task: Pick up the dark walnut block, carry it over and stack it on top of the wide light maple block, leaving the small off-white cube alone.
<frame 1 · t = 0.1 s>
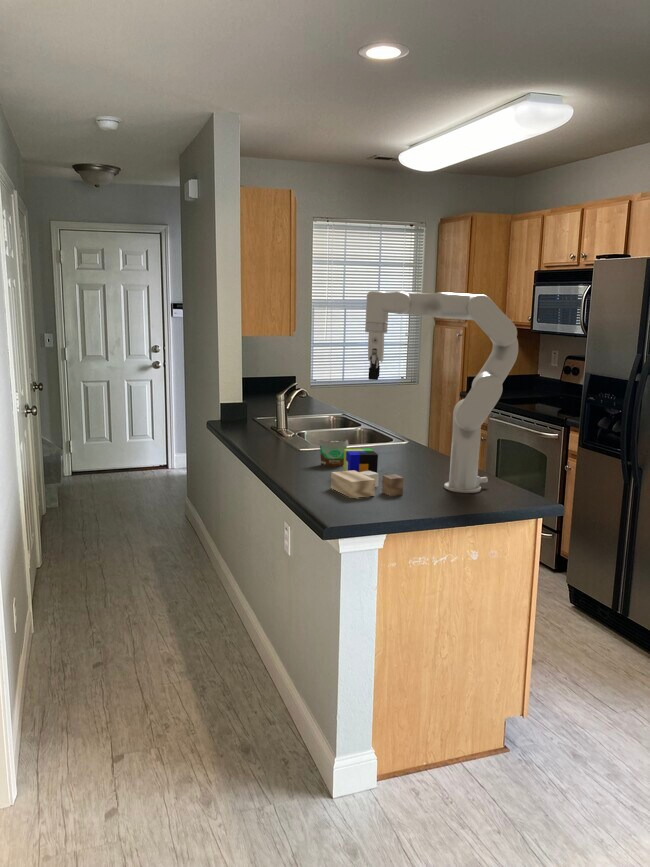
hand: (373, 378, 247), 37 cm above the counter, tool pointing down, fingers open, 9 cm apart
offwhite cube: (367, 486, 248), on the counter
food container: (335, 466, 278), on the counter
walnut block: (392, 493, 240), on the counter
maple block: (352, 493, 240), on the counter
puzzle toy: (359, 479, 259), on the counter
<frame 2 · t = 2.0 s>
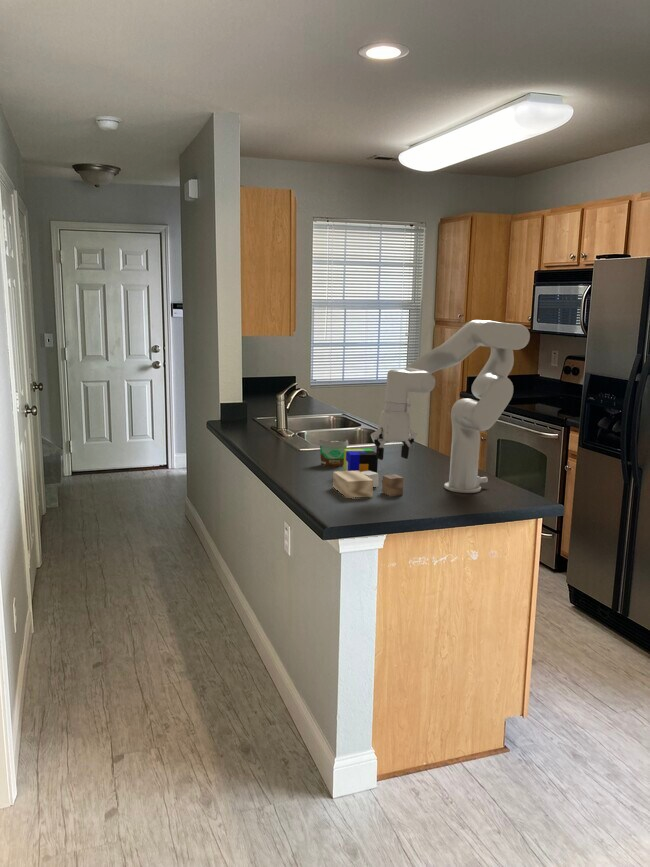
hand: (392, 458, 237), 12 cm above the counter, tool pointing down, fingers open, 9 cm apart
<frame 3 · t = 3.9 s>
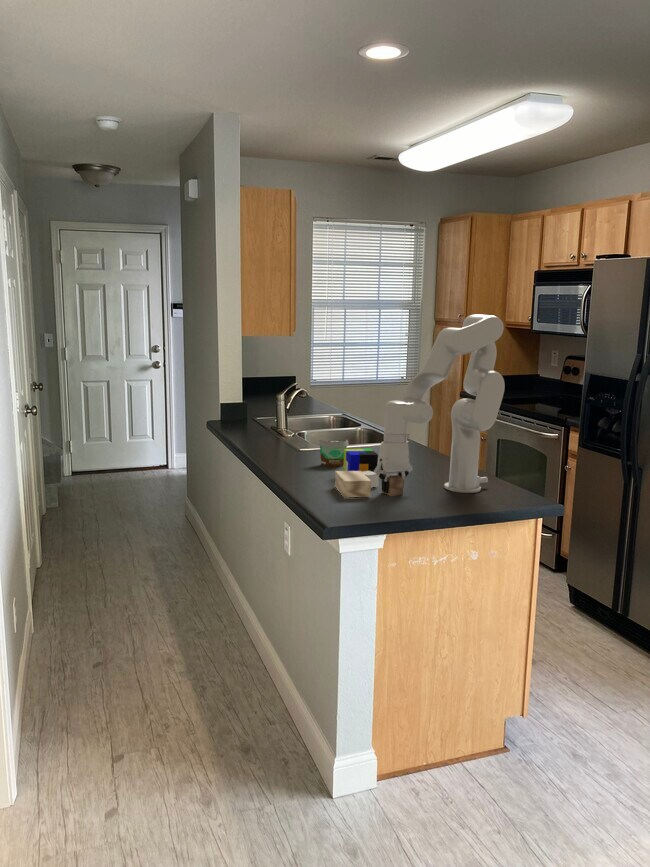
hand: (392, 490, 240), 1 cm above the counter, tool pointing down, fingers closed on walnut block, 5 cm apart
walnut block: (392, 493, 240), on the counter, touching gripper
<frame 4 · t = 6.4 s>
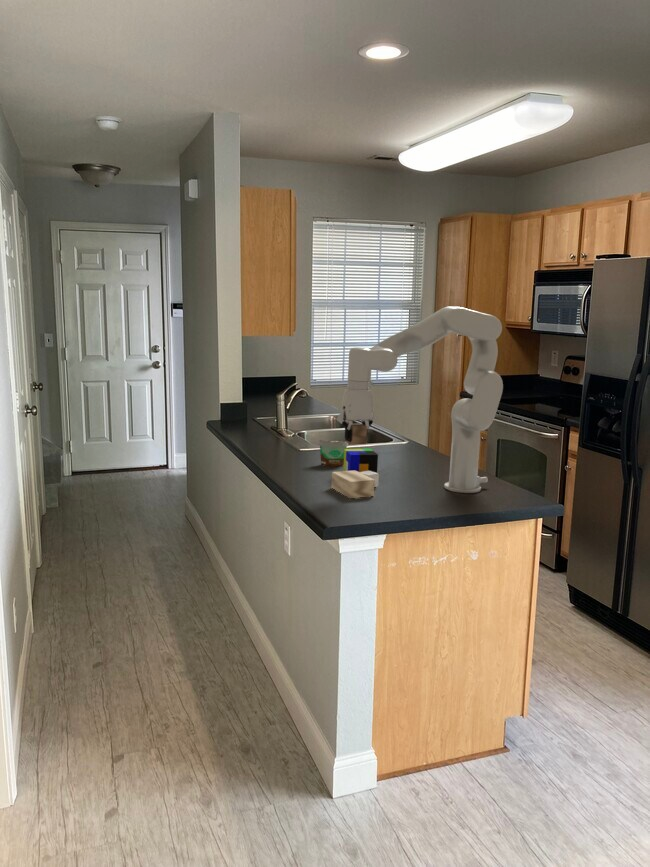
hand: (355, 439, 236), 18 cm above the counter, tool pointing down, fingers closed on walnut block, 5 cm apart
walnut block: (355, 442, 237), point 17 cm above the counter, touching gripper
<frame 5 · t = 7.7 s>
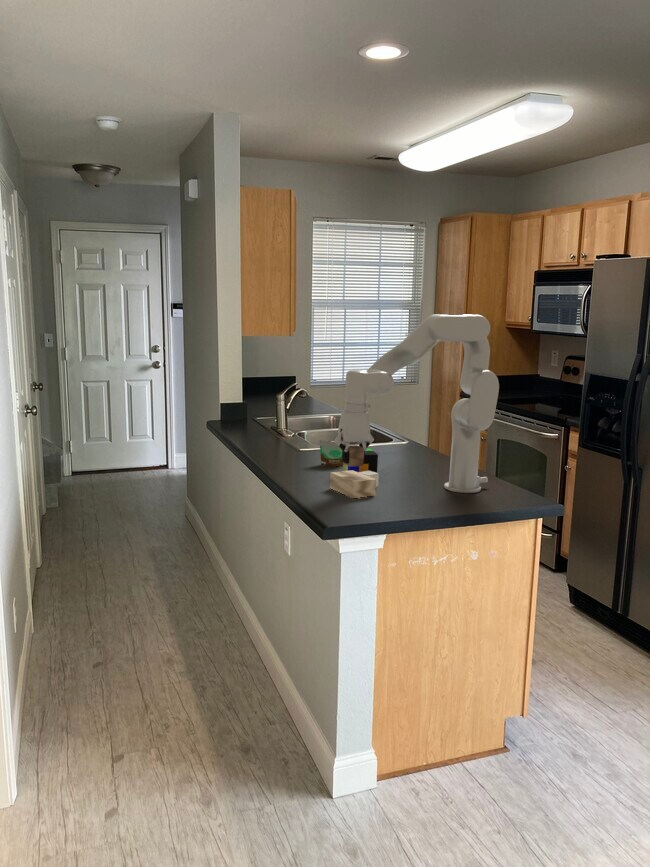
hand: (353, 461, 238), 11 cm above the counter, tool pointing down, fingers closed on walnut block, 5 cm apart
walnut block: (353, 464, 238), point 10 cm above the counter, touching gripper
when the fingers open (8 cm above the counter, at t = 8.9 s): walnut block drops 2 cm, point 6 cm above the counter.
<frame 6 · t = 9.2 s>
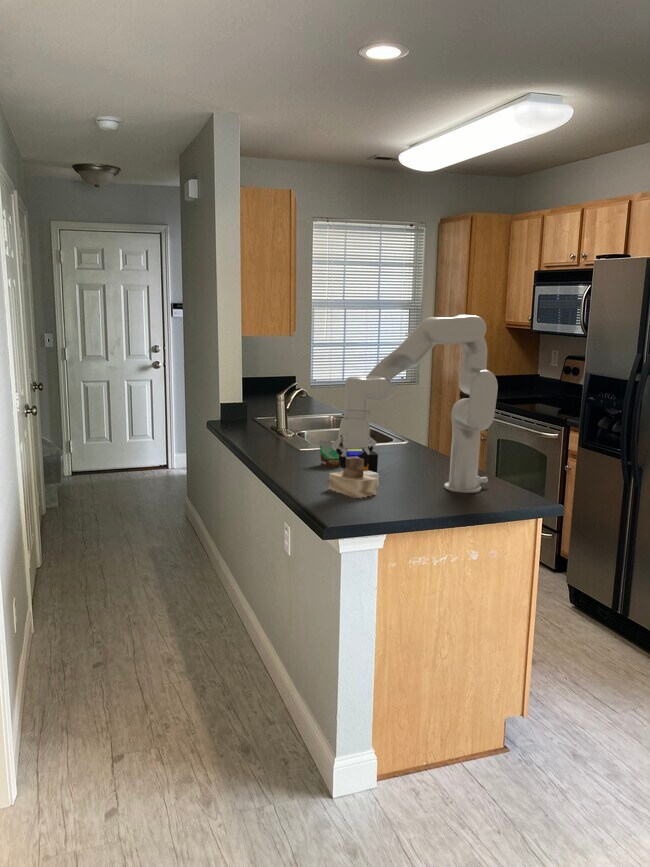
hand: (353, 466, 238), 9 cm above the counter, tool pointing down, fingers open, 7 cm apart
walnut block: (352, 475, 239), point 6 cm above the counter
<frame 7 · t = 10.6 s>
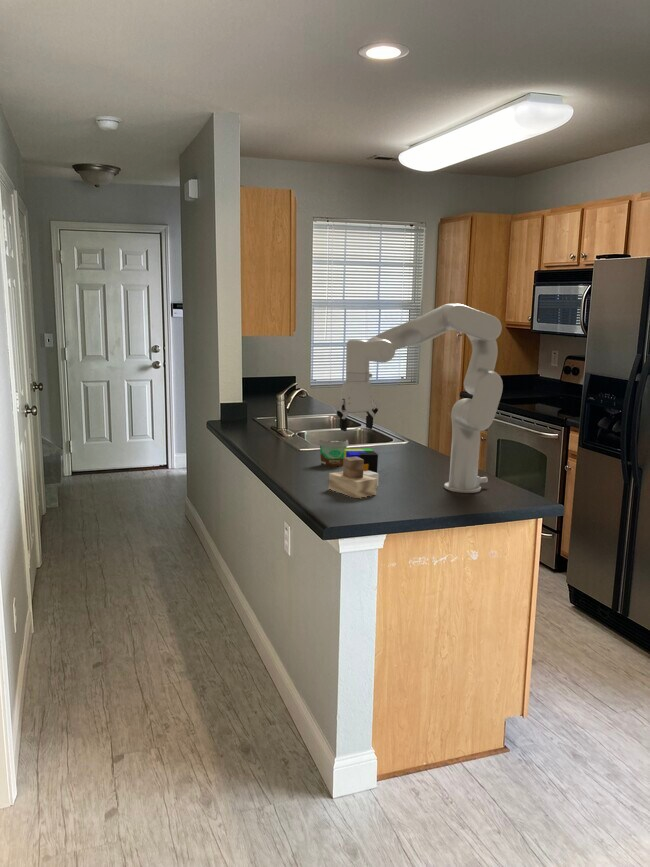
hand: (356, 429, 236), 21 cm above the counter, tool pointing down, fingers open, 9 cm apart
walnut block: (352, 476, 239), point 6 cm above the counter, touching maple block
maple block: (352, 493, 240), on the counter, touching walnut block
everything else where it was.
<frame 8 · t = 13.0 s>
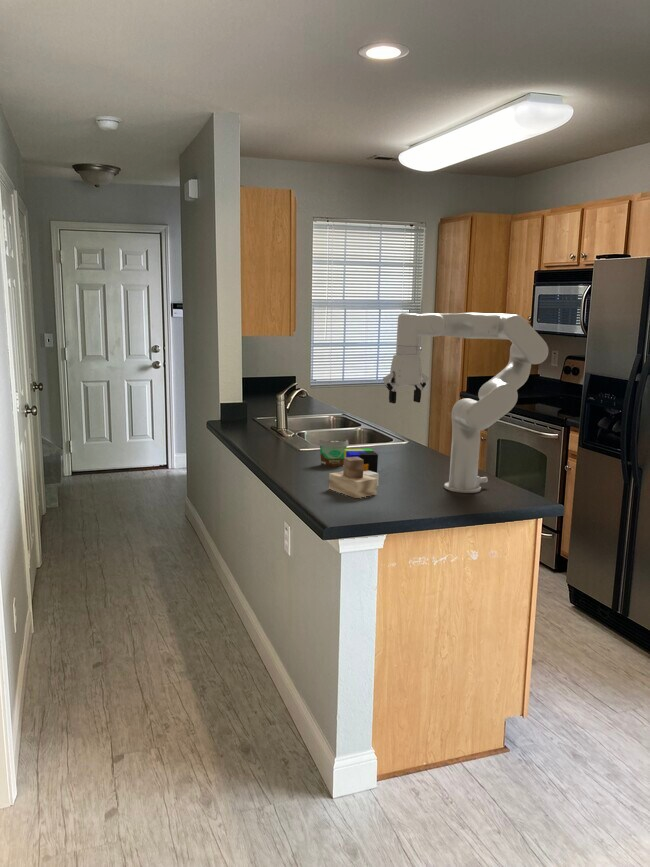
hand: (404, 402, 239), 30 cm above the counter, tool pointing down, fingers open, 9 cm apart
walnut block: (353, 476, 239), point 6 cm above the counter
maple block: (352, 493, 240), on the counter
everything else where it was.
at the end: walnut block inside the target area on the maple block (0.3 cm from its centre), point 6.0 cm above the maple block's base; walnut block tilted 0°; the gripper is holding nothing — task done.
